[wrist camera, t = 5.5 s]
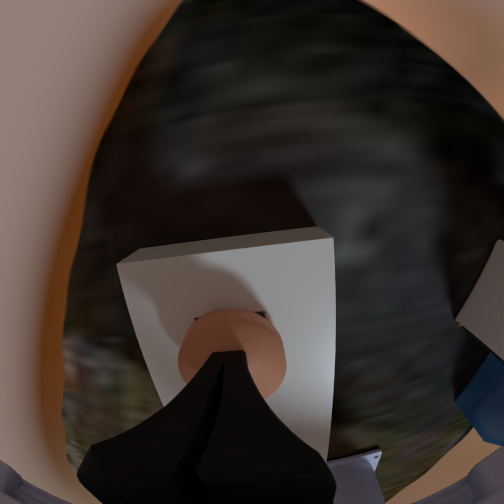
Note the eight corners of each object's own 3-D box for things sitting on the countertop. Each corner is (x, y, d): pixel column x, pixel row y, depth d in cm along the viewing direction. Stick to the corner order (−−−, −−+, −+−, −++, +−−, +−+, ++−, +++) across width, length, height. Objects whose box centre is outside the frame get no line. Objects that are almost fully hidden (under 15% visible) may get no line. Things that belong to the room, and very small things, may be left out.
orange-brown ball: (282, 355, 15) (289, 400, 11) (203, 361, 15) (191, 407, 11) (274, 280, 14) (282, 315, 10) (186, 290, 14) (165, 326, 10)
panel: (319, 438, 18) (325, 465, 15) (202, 447, 19) (198, 474, 16) (317, 226, 14) (333, 237, 11) (139, 248, 15) (116, 264, 12)
